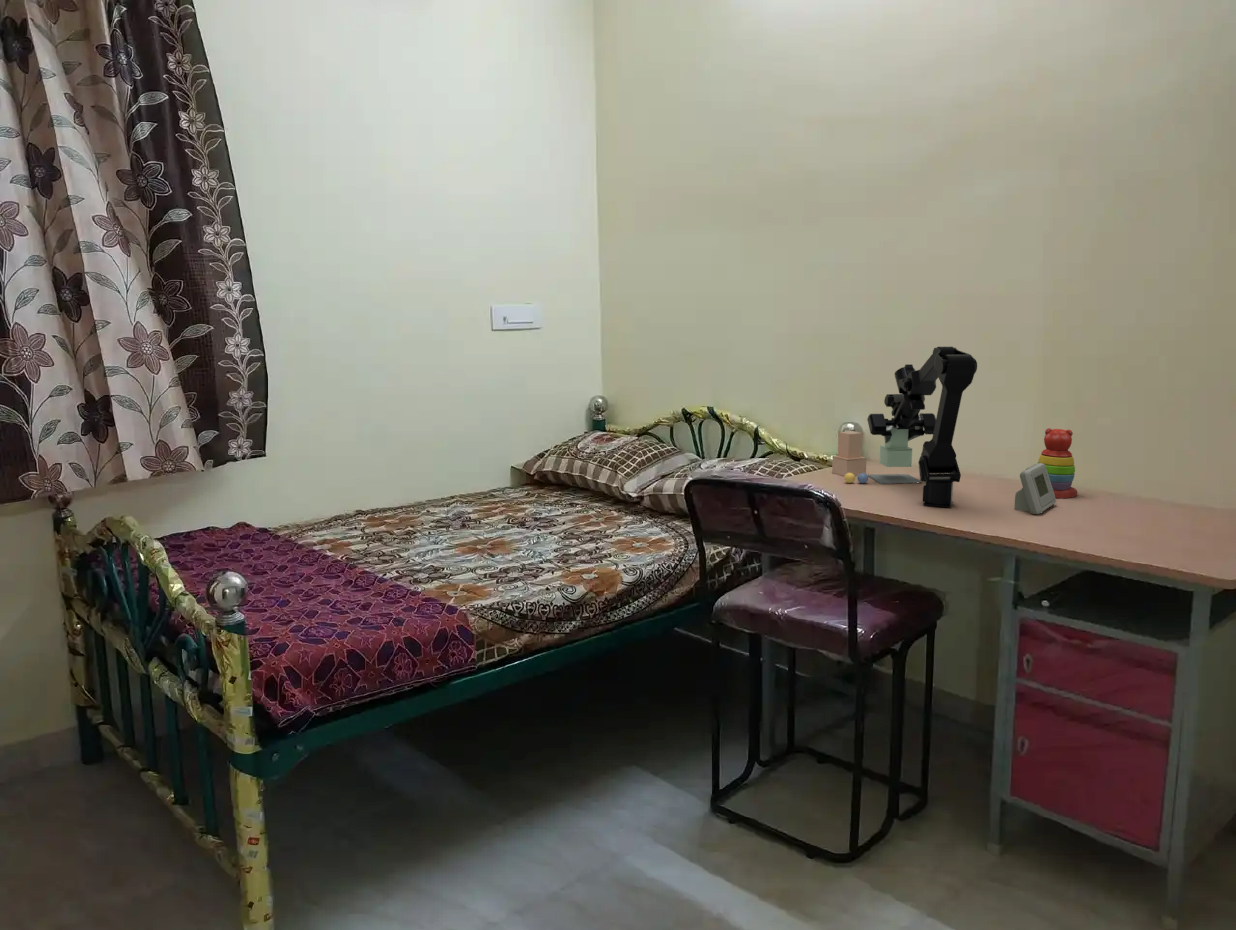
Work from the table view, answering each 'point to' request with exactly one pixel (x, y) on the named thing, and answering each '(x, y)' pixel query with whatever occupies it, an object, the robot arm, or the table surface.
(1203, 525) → the table surface
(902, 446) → the stepped green tower
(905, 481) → the mat
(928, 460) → the robot arm
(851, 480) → the marble amber
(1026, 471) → the digital clock
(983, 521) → the table surface
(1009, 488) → the table surface
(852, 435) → the pink stepped block
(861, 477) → the blue ball
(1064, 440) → the stacking bear
